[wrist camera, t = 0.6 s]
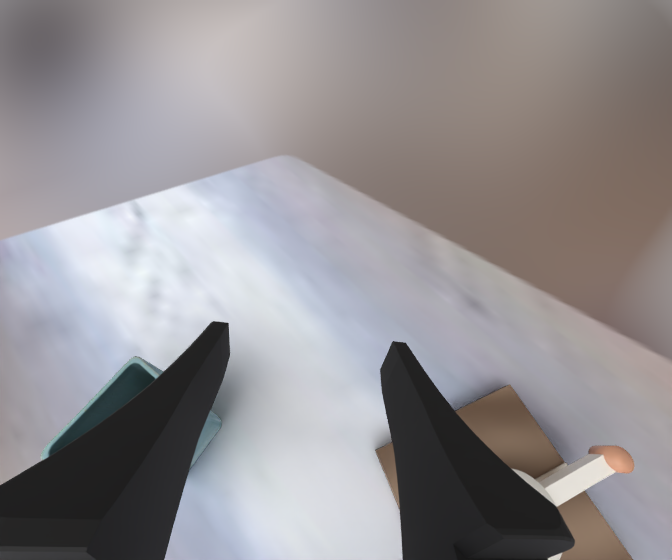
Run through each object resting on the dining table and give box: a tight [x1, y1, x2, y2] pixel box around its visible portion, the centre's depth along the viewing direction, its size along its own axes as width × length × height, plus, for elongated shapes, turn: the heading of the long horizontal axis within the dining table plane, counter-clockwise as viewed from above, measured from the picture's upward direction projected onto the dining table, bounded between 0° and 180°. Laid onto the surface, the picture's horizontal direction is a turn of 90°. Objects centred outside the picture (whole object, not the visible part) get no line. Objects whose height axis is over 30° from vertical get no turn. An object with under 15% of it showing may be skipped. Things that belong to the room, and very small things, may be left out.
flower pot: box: [40, 356, 222, 470], centre depth 25 cm, size 9×9×9 cm
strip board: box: [375, 385, 633, 560], centre depth 23 cm, size 15×15×3 cm
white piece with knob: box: [512, 446, 634, 560], centre depth 22 cm, size 13×6×2 cm, turn 112°
